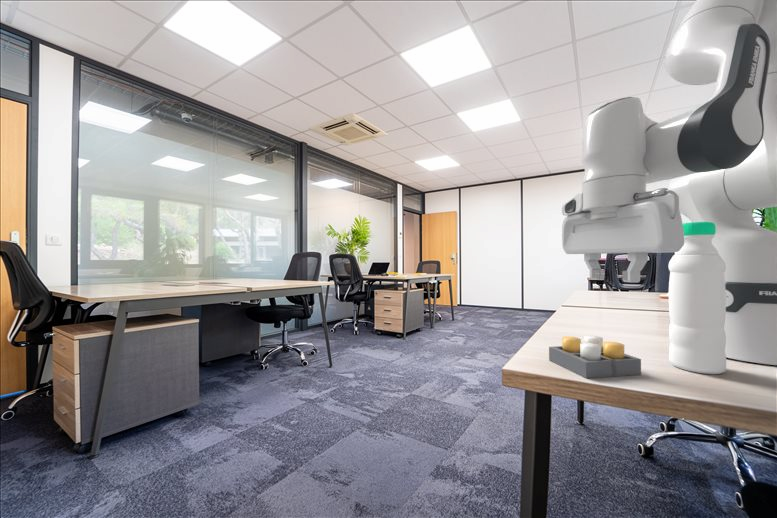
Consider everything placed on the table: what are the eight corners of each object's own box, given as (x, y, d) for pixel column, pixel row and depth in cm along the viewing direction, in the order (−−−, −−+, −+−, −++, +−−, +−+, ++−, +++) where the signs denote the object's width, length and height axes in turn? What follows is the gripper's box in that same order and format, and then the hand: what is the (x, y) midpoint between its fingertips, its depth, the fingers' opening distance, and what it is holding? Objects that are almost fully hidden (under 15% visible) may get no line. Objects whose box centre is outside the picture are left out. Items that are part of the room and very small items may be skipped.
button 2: (591, 358, 54) (591, 342, 54) (605, 363, 51) (605, 347, 51) (576, 359, 54) (576, 343, 54) (589, 364, 51) (589, 348, 51)
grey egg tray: (596, 357, 60) (596, 344, 60) (641, 374, 51) (640, 359, 51) (549, 360, 59) (549, 346, 59) (586, 378, 50) (586, 362, 50)
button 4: (614, 356, 55) (613, 341, 55) (628, 362, 52) (628, 345, 52) (599, 357, 55) (599, 342, 55) (613, 363, 52) (613, 346, 52)
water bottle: (700, 361, 57) (699, 224, 57) (739, 376, 50) (738, 219, 50) (658, 360, 58) (657, 225, 58) (691, 374, 51) (690, 220, 51)
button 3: (594, 349, 59) (593, 335, 59) (606, 354, 56) (606, 339, 56) (580, 350, 59) (580, 335, 59) (592, 354, 56) (592, 339, 56)
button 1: (572, 350, 59) (572, 336, 59) (584, 355, 56) (584, 340, 56) (558, 351, 58) (558, 336, 58) (570, 356, 55) (569, 340, 55)
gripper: (697, 185, 43) (697, 285, 43) (584, 208, 64) (584, 277, 64) (657, 184, 42) (658, 286, 43) (555, 208, 63) (556, 277, 63)
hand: (613, 280), depth 53 cm, fingers open, 5 cm apart
